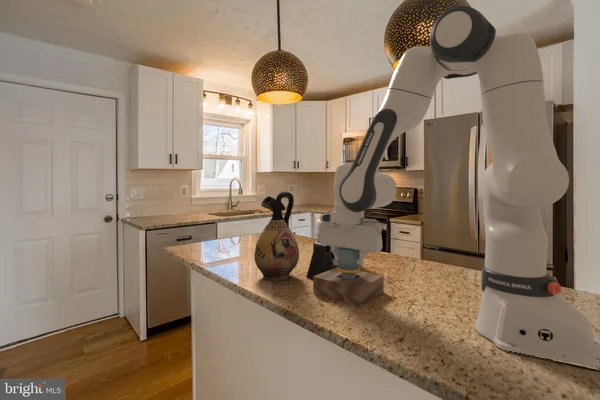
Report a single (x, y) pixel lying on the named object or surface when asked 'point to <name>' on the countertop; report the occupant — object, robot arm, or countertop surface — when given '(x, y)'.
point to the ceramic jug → (277, 241)
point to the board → (348, 286)
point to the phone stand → (320, 260)
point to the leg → (348, 262)
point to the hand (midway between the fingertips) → (348, 262)
